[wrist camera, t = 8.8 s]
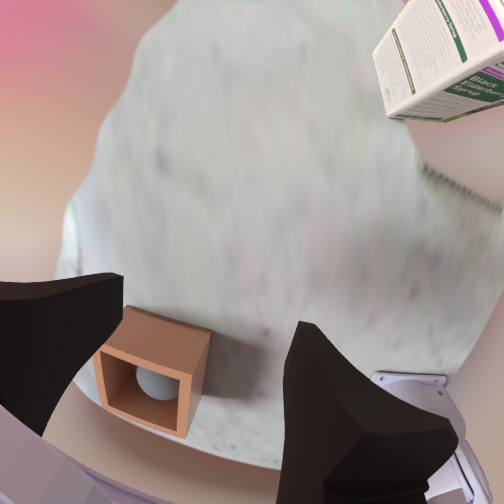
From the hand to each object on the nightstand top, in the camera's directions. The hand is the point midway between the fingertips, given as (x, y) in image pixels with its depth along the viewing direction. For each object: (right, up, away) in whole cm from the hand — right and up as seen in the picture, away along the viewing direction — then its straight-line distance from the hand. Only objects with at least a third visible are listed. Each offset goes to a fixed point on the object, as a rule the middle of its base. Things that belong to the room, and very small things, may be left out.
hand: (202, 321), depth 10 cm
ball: (-6, -7, +12) cm, 15 cm away
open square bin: (-6, -7, +13) cm, 16 cm away
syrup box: (+14, +16, +6) cm, 22 cm away
